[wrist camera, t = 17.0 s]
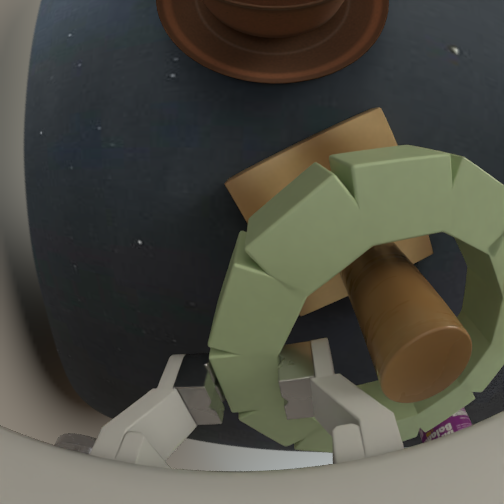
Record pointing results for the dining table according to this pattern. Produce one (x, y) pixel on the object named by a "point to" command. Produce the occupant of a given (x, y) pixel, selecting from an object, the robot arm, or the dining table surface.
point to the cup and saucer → (273, 35)
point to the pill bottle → (447, 426)
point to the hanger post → (373, 272)
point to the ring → (343, 254)
